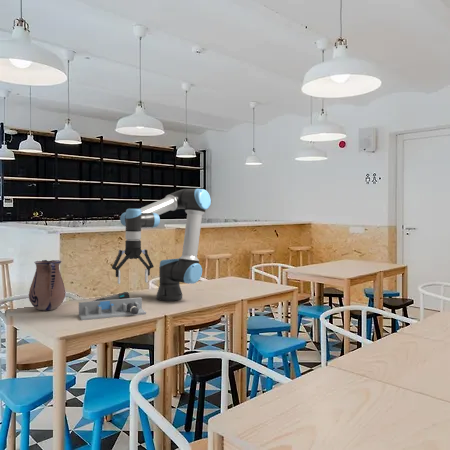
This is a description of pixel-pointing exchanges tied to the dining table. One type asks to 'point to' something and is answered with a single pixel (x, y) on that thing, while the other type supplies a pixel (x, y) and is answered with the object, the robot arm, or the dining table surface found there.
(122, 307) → the spiked grey rail
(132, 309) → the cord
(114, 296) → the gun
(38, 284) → the ceramic pitcher
